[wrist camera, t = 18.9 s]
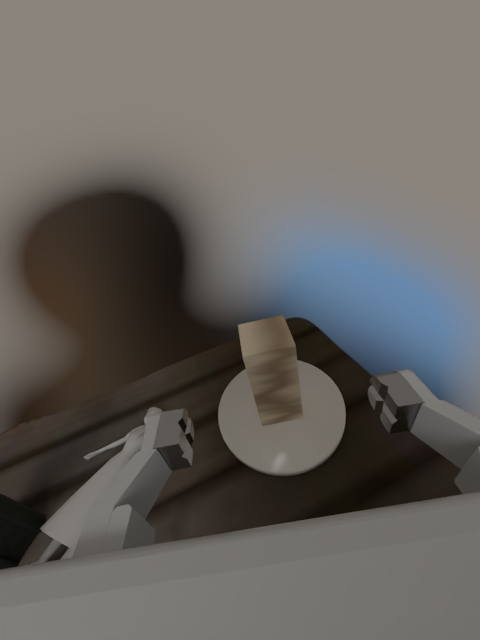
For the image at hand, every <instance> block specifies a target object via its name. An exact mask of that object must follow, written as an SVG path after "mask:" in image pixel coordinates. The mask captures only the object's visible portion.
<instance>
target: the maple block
mask: <svg viewBox="0 0 480 640" xmlns="http://www.w3.org/2000/svg"><path fill="white" fill-rule="evenodd" d="M238 328H239V335H240V343H241V350H242V357H243V360H244V364H245V367H246V371H247V374H248V378H249V381H250V385H251V388H252V392H253V395H254V399H255V402H256V406H257V409H258V413H259V416H260V420H261V423H262V426H266V425H271V424H276V423H281V422H286V421H291V420H296V419H301V418H303V411H302V402H301V392H300V382H299V373H298V363H297V353H296V345H295V342H294V340H293V338H292V335H291V333H290V330H289V328H288V326H287V323H286V321H285V318H284V316H283V315H280V316H275V317H271V318H266V319H262V320H258V321H253V322H249V323H244V324H240V325H238Z"/></svg>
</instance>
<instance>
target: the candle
mask: <svg viewBox="0 0 480 640" xmlns="http://www.w3.org/2000/svg"><path fill="white" fill-rule="evenodd" d="M45 521H46V518H45V515H43V514H41V513H39V512H37V511H35V510H33V509H31V508H29V507H27V506H25V505H23V504H21V503H19V502H17V501H15V500H13V499H11V498H9V497H6V496H4V495H2V494H0V569H7V568H13V567H17V565H18V564H19V560H20V559H21V557H22V556H23V554H24V553H25V551H26V550H27V548H28V547H29V545H30V544H31V543H32V541H33V540H34V538H35V537H36V535H37V534H38V532H40V531H41V529H40V528H41V527H42V526H43V525H44V524H45Z"/></svg>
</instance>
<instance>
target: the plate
mask: <svg viewBox="0 0 480 640" xmlns="http://www.w3.org/2000/svg"><path fill="white" fill-rule="evenodd" d="M297 363H298V373H299V382H300V392H301V402H302V411H303V418H301V419H296V420H291V421H286V422H281V423H276V424H271V425H266V426H262V423H261V420H260V416H259V413H258V409H257V406H256V402H255V399H254V395H253V392H252V388H251V385H250V381H249V378H248V374H247V371H246V369H245V370H243V371H242V372H240V373H239V374H238V375H237V376H236V377H235V378H234V379H233V380H232V381H231V382H230V383H229V385H228V386H227V388H226V389H225V391H224V393H223V395H222V397H221V400H220V404H219V409H218V421H219V427H220V431H221V434H222V436H223V439H224V441H225V443H226V444H227V446H228V448H229V450H230V451H231V452H232V453H233V454H234V456H235V457H236V458H237V459H238V460H240V461H241V462H242V463H243V464H245V465H246V466H248V467H249V468H251V469H253V470H255V471H258V472H261V473H264V474H268V475H273V476H292V475H298V474H302V473H305V472H308V471H310V470H312V469H315V468H316V467H318V466H319V465H321V464H322V463H324V462H325V461H326V460H327V459H328V458H329V457H330V456H331V455H332V454H333V453H334V452H335V450H336V449H337V447H338V445H339V444H340V442H341V439H342V437H343V434H344V429H345V420H346V411H345V404H344V400H343V397H342V395H341V393H340V391H339V389H338V387H337V386H336V384H335V383H334V382H333V381H332V379H331V378H330V377H329V376H328V375H327V374H325V373H324V372H323V371H321V370H320V369H318V368H316V367H315V366H313V365H310V364H308V363H305V362H302V361H299V360H297Z"/></svg>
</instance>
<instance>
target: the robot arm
mask: <svg viewBox="0 0 480 640" xmlns="http://www.w3.org/2000/svg"><path fill="white" fill-rule="evenodd" d="M370 382H371V384H372V385H371V386H370V387H369V389H368V397H369V401H370V403H371V405H372V407H373V409H374V410H375V411H377V412H379V413H380V414H381V415H380V420H381V422H382V423H383V425H384V426H385V428H386V429H387V431H388V433H389V434H390V433H397V432H404V431H410V432H411V433H412V434H414V435H415V436H416V437H418V438H419V439H421V440H422V441H423V442H425V443H426V444H427V445H429V446H430V447H431V448H433V449H434V450H436V451H437V452H438V453H440V454H441V455H442V456H444V457H445V458H447V459H448V460H449V461H451V462H452V463H453V464H455V465H456V466H458V467H459V468H460V469H461V471H460V472H459V474H458V475H457V476H456V478H455V481H454V482H455V484H456V485H457V486H458V488H459V489H460V491H461V492H462V493H463V494H461V495H455V496H449V497H443V498H436V499H430V500H424V501H418V502H412V503H406V504H399V505H393V506H387V507H381V508H375V509H369V510H363V511H356V512H350V513H344V514H338V515H332V516H326V517H319V518H313V519H307V520H301V521H295V522H289V523H282V524H276V525H270V526H264V527H258V528H252V529H246V530H239V531H233V532H227V533H221V534H215V535H209V536H203V537H196V538H190V539H184V540H178V541H172V542H166V543H159V544H154V540H155V533H156V530H155V529H154V527H153V526H152V525H150V524H149V523H148V522H147V521H146V520H145V519H146V517H147V515H148V514H149V512H150V510H151V508H152V507H153V505H154V503H155V501H156V500H157V498H158V496H159V494H160V493H161V491H162V489H163V487H164V486H165V484H166V482H167V480H168V479H169V477H170V475H171V473H172V471H173V470H178V469H183V468H188V467H192V457H193V450H192V448H191V446H190V445H191V444H192V442H193V441H194V426H193V422H192V420H191V419H190V418H188V411H187V410H186V408H185V409H178V410H171V411H164V412H158V413H152V414H150V416H149V418H148V422H147V426H146V430H145V434H144V437H143V441H142V445H141V449H140V451H139V452H136V453H135V454H134V456H133V457H132V458H131V459H130V460H129V462H128V463H127V464H126V465H125V467H124V468H123V469H122V470H121V471H120V473H119V474H118V475H117V476H116V478H115V479H114V480H113V481H112V482H111V484H110V485H109V486H108V487H107V488H106V490H105V491H104V492H103V493H102V495H101V496H100V497H99V498H98V499H97V501H96V502H95V503H94V504H93V506H92V507H91V508H90V509H89V512H88V514H87V517H86V520H85V523H84V526H83V528H82V531H81V534H80V537H79V539H78V542H77V545H76V548H75V551H74V553H73V556H72V558H67V559H61V560H55V561H49V562H43V563H37V564H31V565H25V566H19V567H13V568H7V569H0V640H480V418H479V417H477V416H475V415H473V414H470V413H469V412H466V411H464V410H462V409H460V408H458V407H456V406H454V405H452V404H450V403H448V402H446V401H444V400H438V399H437V398H436V397H435V395H434V394H433V393H432V392H431V391H430V390H429V389H428V388H427V387H426V386H425V385H424V384H423V382H422V381H421V380H420V379H419V378H418V377H417V376H416V375H415V374H414V373H413V372H412V371H411V370H409V369H407V370H401V371H396V372H395V371H394V372H389V373H384V374H378V375H373V376H372V377H371V379H370Z"/></svg>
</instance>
